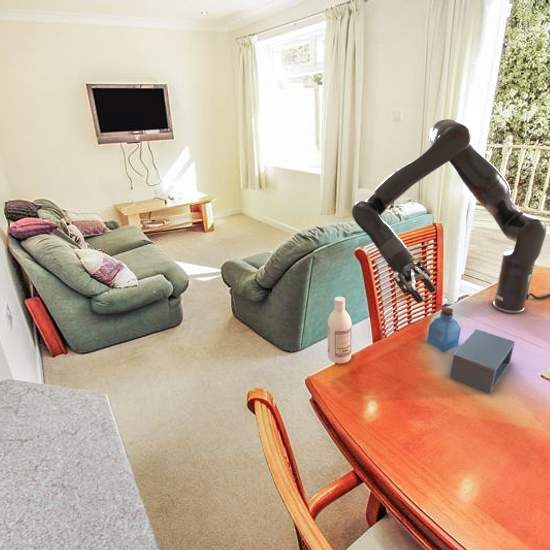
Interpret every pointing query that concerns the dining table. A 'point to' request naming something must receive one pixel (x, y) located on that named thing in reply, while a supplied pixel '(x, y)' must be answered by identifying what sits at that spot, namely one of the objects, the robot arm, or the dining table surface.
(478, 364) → the shelf
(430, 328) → the perfume bottle
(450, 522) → the dining table surface
